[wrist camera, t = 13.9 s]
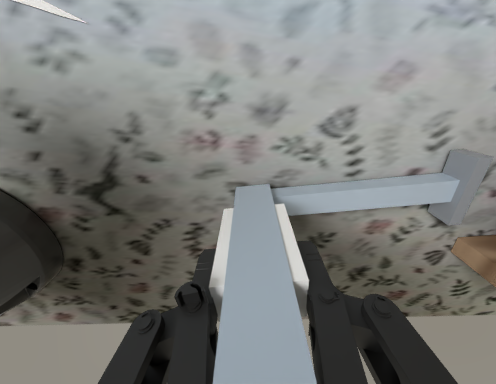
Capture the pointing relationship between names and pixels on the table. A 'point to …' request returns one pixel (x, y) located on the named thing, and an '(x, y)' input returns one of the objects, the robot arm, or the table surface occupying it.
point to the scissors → (48, 8)
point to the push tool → (278, 272)
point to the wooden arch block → (478, 254)
